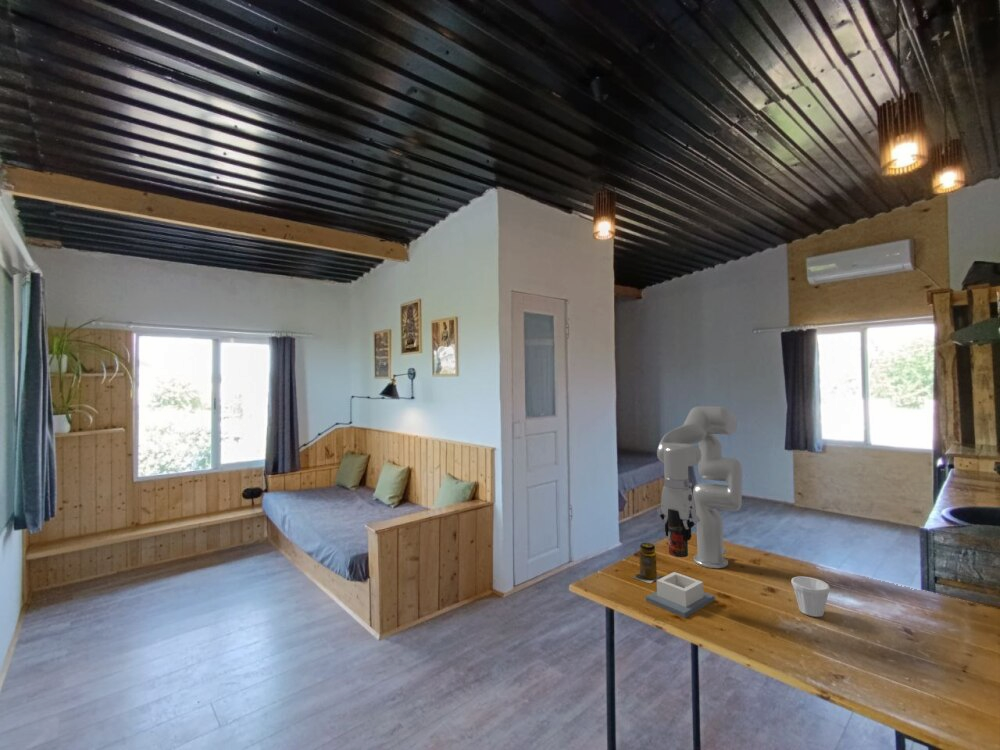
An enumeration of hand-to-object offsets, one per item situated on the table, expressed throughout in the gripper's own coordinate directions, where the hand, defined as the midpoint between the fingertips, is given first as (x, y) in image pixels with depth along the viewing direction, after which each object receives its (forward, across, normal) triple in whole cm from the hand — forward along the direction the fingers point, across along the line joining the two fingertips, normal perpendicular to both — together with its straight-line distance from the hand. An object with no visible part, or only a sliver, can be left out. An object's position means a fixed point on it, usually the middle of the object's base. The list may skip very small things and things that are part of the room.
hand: (678, 537), depth 151 cm
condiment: (+21, +18, -8) cm, 29 cm away
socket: (+21, 0, 0) cm, 21 cm away
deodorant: (+6, 0, 0) cm, 6 cm away
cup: (+21, -30, -24) cm, 44 cm away
